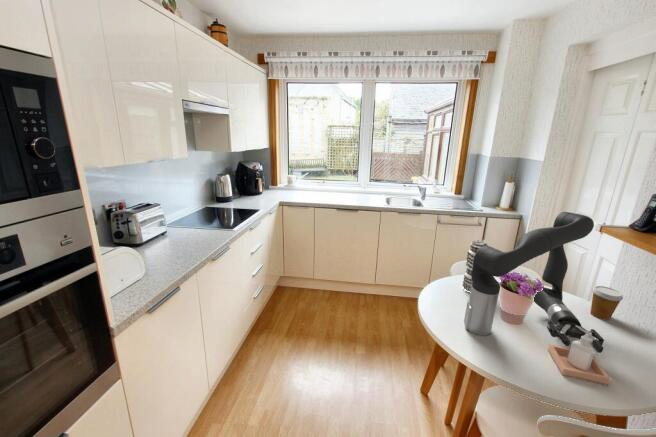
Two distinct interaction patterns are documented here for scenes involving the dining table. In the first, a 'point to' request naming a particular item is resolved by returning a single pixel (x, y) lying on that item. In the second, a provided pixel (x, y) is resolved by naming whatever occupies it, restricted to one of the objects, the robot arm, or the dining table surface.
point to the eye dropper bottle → (581, 353)
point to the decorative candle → (471, 263)
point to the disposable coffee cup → (604, 302)
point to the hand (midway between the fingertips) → (584, 347)
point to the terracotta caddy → (566, 369)
